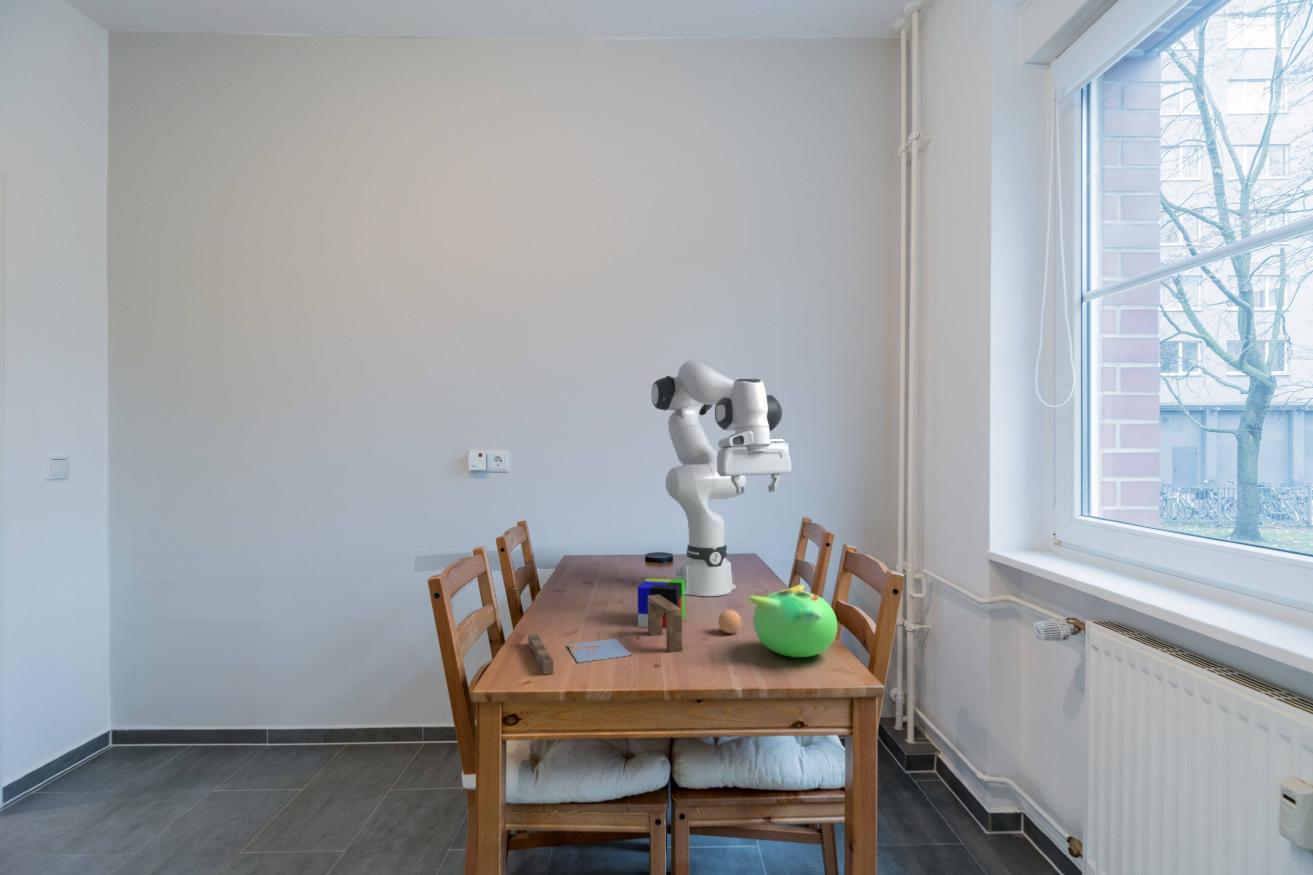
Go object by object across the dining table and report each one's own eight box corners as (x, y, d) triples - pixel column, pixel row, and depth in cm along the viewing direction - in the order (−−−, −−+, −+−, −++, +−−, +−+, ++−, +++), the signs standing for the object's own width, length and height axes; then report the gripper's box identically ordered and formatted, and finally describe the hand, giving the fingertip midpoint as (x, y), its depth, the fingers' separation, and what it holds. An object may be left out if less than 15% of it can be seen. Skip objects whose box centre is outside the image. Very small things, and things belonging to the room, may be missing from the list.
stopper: (528, 644, 148) (528, 633, 148) (537, 643, 149) (536, 632, 149) (543, 675, 129) (543, 662, 129) (553, 673, 130) (553, 661, 130)
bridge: (669, 652, 142) (669, 610, 142) (648, 633, 155) (647, 595, 155) (682, 650, 143) (681, 609, 143) (659, 631, 156) (659, 594, 156)
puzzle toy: (638, 626, 161) (637, 587, 161) (648, 615, 171) (647, 578, 171) (676, 629, 159) (676, 588, 159) (684, 617, 168) (684, 579, 168)
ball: (714, 630, 156) (714, 608, 156) (735, 628, 158) (734, 606, 158) (724, 637, 151) (724, 614, 151) (745, 634, 153) (745, 611, 153)
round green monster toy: (845, 649, 142) (845, 583, 142) (824, 675, 127) (823, 601, 127) (768, 637, 151) (767, 575, 151) (740, 660, 136) (739, 591, 136)
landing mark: (566, 645, 147) (566, 644, 147) (616, 639, 151) (616, 638, 151) (577, 663, 136) (577, 662, 136) (631, 655, 140) (631, 654, 140)
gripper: (781, 439, 172) (785, 491, 171) (712, 441, 165) (716, 495, 164) (794, 437, 166) (798, 490, 165) (723, 439, 159) (727, 494, 158)
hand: (756, 492), depth 164 cm, fingers open, 8 cm apart
